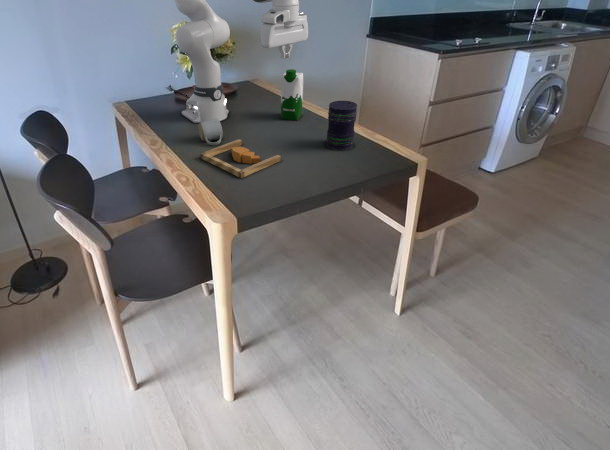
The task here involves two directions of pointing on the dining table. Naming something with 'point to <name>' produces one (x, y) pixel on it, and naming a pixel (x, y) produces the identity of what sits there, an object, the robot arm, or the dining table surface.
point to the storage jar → (341, 125)
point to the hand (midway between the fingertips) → (285, 57)
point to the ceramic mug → (211, 131)
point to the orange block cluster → (244, 155)
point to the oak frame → (231, 169)
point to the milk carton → (291, 95)
